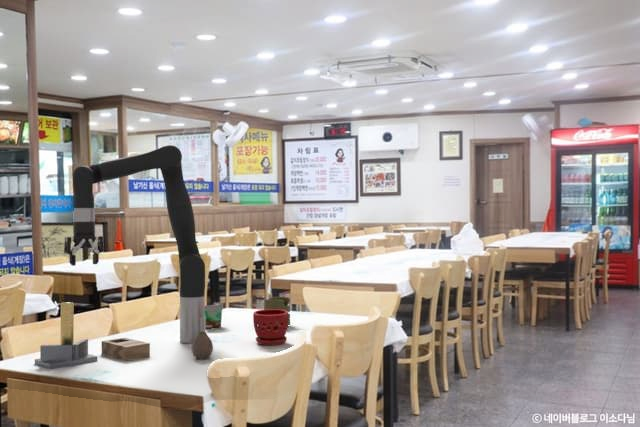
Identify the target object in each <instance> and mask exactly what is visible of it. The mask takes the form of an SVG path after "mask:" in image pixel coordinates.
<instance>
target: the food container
mask: <svg viewBox="0 0 640 427" xmlns="http://www.w3.org/2000/svg"><path fill="white" fill-rule="evenodd" d="M223 310H224V305H223V303H222V302H218V301H217V302H213V304H209V305H205V316H206V330H213V329H212V328H217V329H220V328H219V327H221V328H222V317H223V316H222V314H223Z"/></svg>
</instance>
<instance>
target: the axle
mask: <svg viewBox="0 0 640 427" xmlns="http://www.w3.org/2000/svg"><path fill="white" fill-rule="evenodd" d="M74 305H75V303H74V302H73V301H72V302H71V301H68V302H67V301H65V302H60V345H74V344H75V343H74V332H75V330H74V327H75V326H74V324H75V323H74V320H75V319H74V313H75V312H74V310H75V308H74V307H75V306H74Z"/></svg>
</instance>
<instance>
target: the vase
mask: <svg viewBox="0 0 640 427" xmlns="http://www.w3.org/2000/svg"><path fill="white" fill-rule="evenodd" d="M213 348H214V347H213V342H212V339H211V338H210V337H209V336H208V334H207V332H199V333H198V335H197V336H196V338H195V339H194V341H193V343H191V353H192V355H193V357H194V358H196V360H207V359H209V358H210V357H211V355H212V353H213V350H214V349H213Z"/></svg>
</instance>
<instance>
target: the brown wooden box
mask: <svg viewBox="0 0 640 427" xmlns="http://www.w3.org/2000/svg"><path fill="white" fill-rule="evenodd" d="M150 347H151V344H150V342H145V341H142V340H137V339H133V338H129V337H120V338H113V339H106V340H101V355H103V354H104V355H103V356H107V355H108V356H107V357H110V356H111V358H115V359H118V360H119V359H120V360H122V361H133V360H137V359H143V358H149V357H150V356H151V350H150V349H151V348H150Z"/></svg>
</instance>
